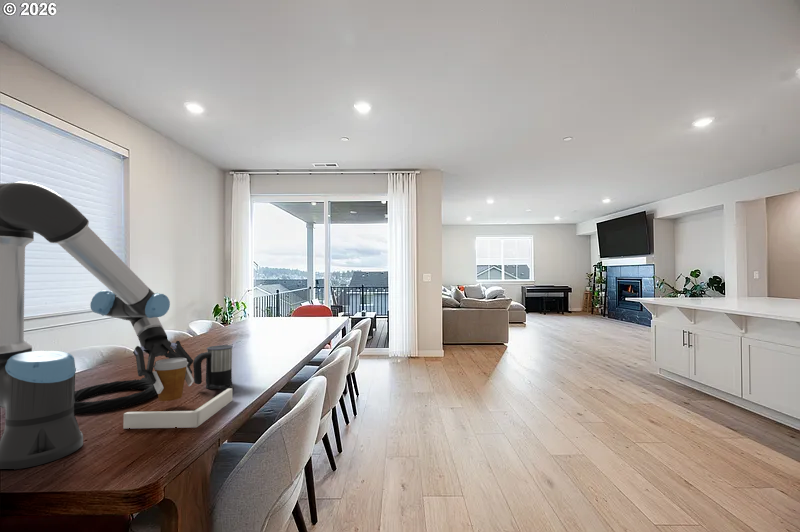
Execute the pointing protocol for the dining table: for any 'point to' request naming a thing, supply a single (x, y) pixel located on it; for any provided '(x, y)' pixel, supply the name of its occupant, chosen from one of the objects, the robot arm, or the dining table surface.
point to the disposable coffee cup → (171, 377)
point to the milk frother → (215, 367)
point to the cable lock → (117, 402)
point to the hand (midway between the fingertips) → (176, 387)
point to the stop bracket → (177, 415)
